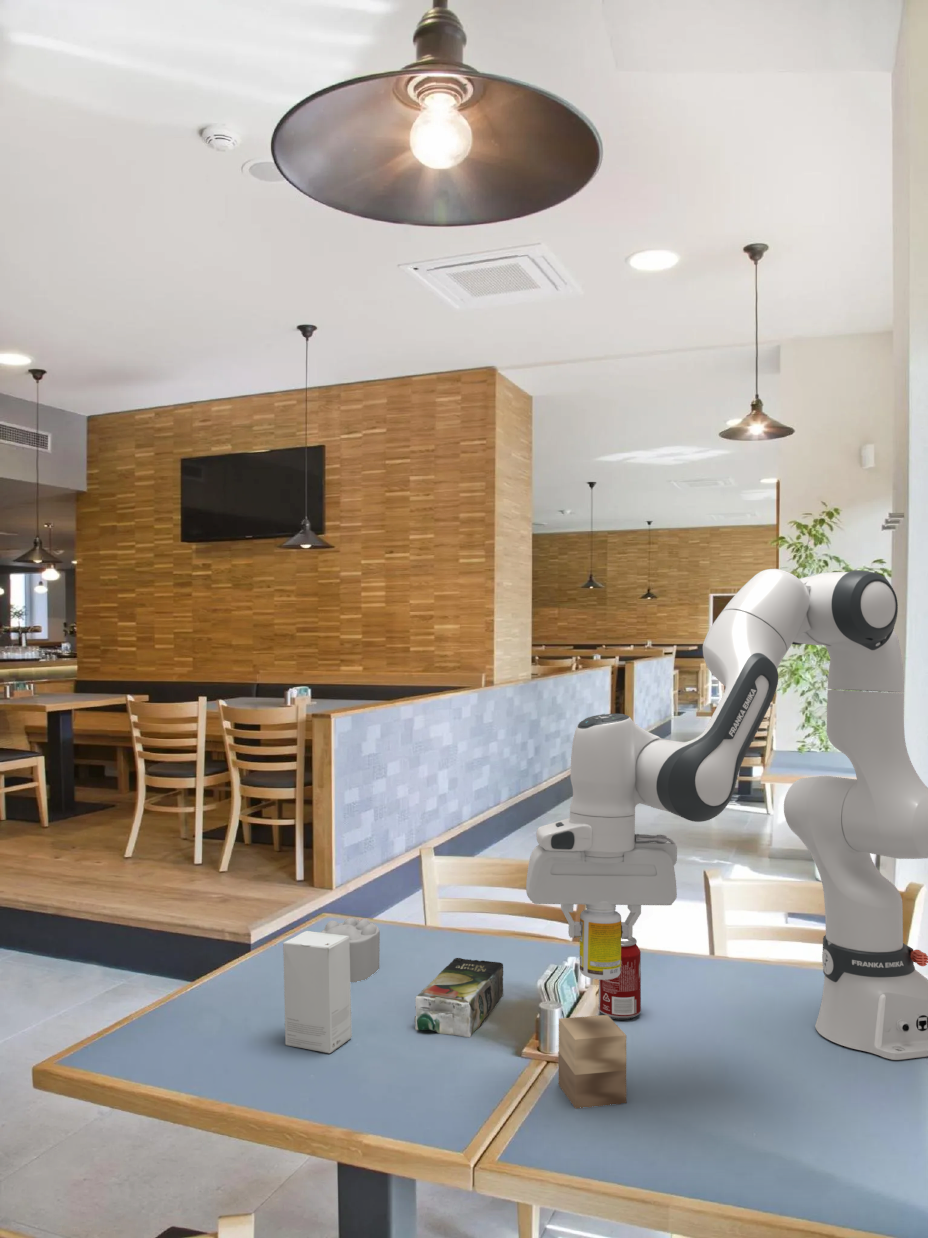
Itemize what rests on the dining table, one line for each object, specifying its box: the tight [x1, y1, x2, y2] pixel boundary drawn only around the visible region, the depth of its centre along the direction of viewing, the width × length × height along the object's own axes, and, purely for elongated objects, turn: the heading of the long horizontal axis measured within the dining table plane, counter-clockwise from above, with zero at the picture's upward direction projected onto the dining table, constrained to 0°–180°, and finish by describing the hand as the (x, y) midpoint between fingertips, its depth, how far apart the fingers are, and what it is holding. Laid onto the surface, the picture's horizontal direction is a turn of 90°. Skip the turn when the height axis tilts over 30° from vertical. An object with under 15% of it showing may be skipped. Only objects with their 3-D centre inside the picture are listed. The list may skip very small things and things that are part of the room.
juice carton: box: [414, 957, 504, 1038], centre depth 153 cm, size 20×10×6 cm, turn 162°
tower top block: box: [558, 1014, 627, 1075], centre depth 125 cm, size 7×7×4 cm
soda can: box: [598, 936, 642, 1021], centre depth 153 cm, size 7×7×12 cm
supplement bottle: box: [579, 901, 622, 981], centre depth 127 cm, size 6×6×10 cm
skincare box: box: [282, 930, 353, 1054], centre depth 141 cm, size 8×7×16 cm
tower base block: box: [557, 1051, 627, 1110], centre depth 125 cm, size 7×7×4 cm
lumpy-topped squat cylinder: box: [319, 917, 381, 983], centre depth 174 cm, size 10×13×9 cm
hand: (600, 937), depth 127 cm, fingers closed on supplement bottle, 6 cm apart
